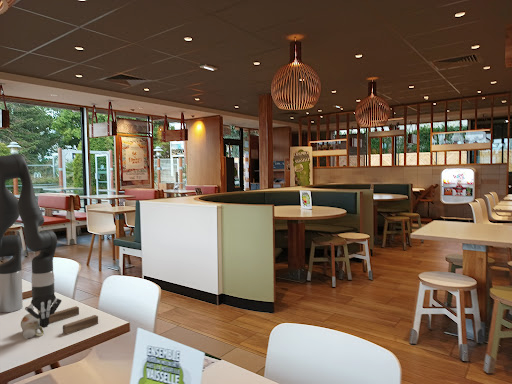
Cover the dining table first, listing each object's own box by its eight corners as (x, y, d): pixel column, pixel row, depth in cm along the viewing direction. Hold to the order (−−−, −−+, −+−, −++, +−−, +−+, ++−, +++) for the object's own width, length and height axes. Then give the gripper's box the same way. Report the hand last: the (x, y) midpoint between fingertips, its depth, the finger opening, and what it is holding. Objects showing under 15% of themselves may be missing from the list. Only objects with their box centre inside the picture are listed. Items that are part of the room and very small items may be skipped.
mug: (17, 343, 133) (13, 315, 136) (27, 343, 142) (23, 317, 145) (40, 335, 136) (35, 308, 139) (48, 336, 145) (43, 311, 148)
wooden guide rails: (44, 322, 151) (44, 315, 150) (76, 312, 161) (76, 306, 161) (66, 334, 140) (65, 327, 140) (98, 323, 150) (98, 316, 150)
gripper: (56, 277, 148) (57, 319, 149) (19, 285, 138) (21, 330, 139) (65, 280, 144) (66, 323, 145) (28, 289, 133) (30, 335, 134)
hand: (44, 326), depth 142 cm, fingers closed
